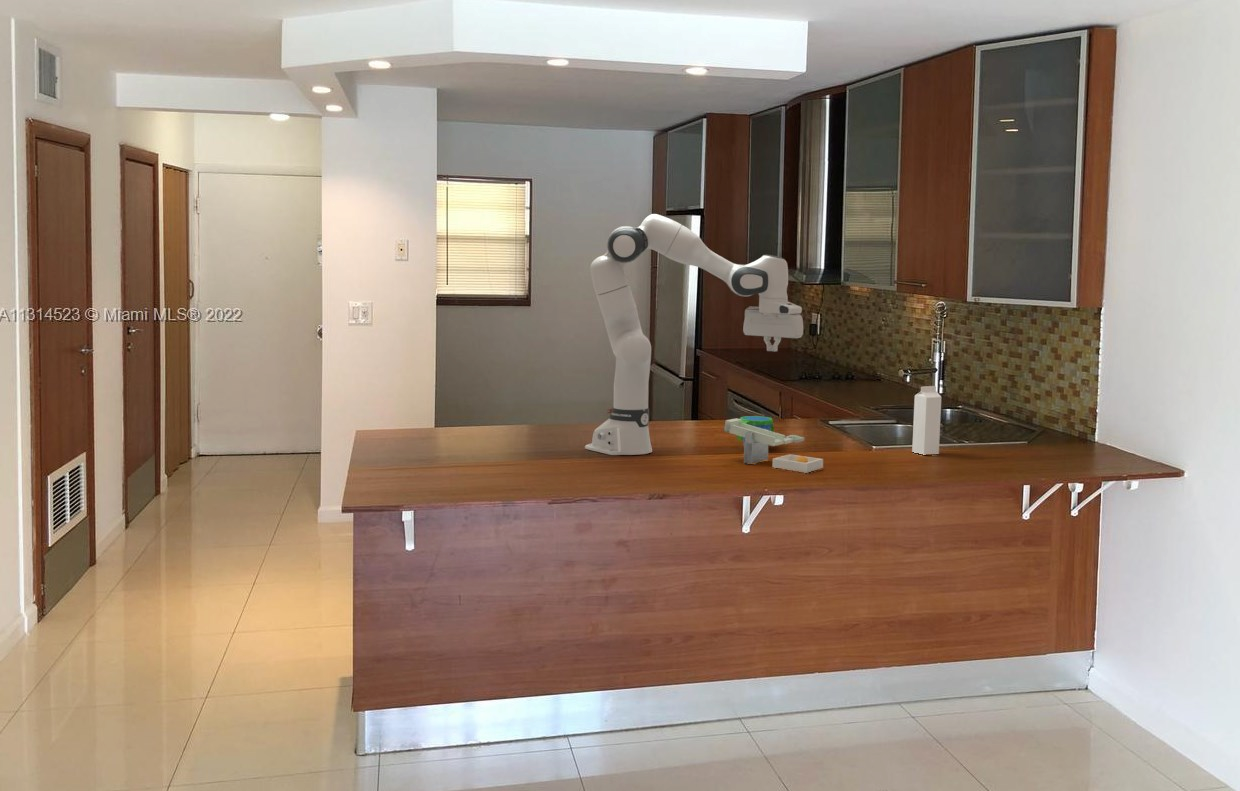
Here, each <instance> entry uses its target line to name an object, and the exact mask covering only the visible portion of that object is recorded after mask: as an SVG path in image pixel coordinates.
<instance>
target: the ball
mask: <svg viewBox="0 0 1240 791" xmlns="http://www.w3.org/2000/svg"><path fill="white" fill-rule="evenodd" d="M798 456H799V457H798V458H797V459H796V462H803V463H807V462H808V460H807V458H806V457H807V456H805V457H804V455H798Z"/></svg>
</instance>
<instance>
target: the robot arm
mask: <svg viewBox="0 0 1240 791" xmlns="http://www.w3.org/2000/svg"><path fill="white" fill-rule="evenodd" d="M606 245H607V247H606V248H607V251H606V252H605V253H604V254H603V255H600V256H597V257H596V258H594V259H593V261H592V262H591V264H590V266H589V268H590V269H589V270H590V276H591V282H592V287H593V289H594V294H595V296H596V299H597V302H598V306H599V309H600V313H601V314H602V317H603V321H604V325H605V330H606V332H607V337H608V340H609V344H610V347H611V350H612V353H613V355H614V357H615V370H614V378H613V380H614V381H613V407H612V408H609V409H606V411H607V412H606V414H609V416H608V419H607V420H604V422H603V423H601V424H600V425H599V426H598V427H597V428H595V429H594V431H593V434H592V439H591V440H592V441H591V443H588V444H586V445H585V446H584V449H585V450H589V451H593V452H598V453H601V454H605V455H609V456H621V455H622V456H623V455H624V456H625V455H626V456H628V455H629V456H632V455H633V456H634V455H646V454H649V453H650V454H651V453H652V452H653V449H652V444H651V439H650V429H649V422H650V408H649V380H650V372H651V360H652V345H651V341H650V340H649V338H648V337H647V336H646V335H645V334H644V333H643V332H644V331H643V330H642V329H643V328H642V325H641V321H640V318H639V313H638V307H637V304H636V301H635V298H634V295H633V293H632V289H631V285H630V283H629V280H628V277H627V273H626V266H627V264H628V263H632V262H633V261H635V260H636V259H638V258H639V257H640V256H641V254H642V253H643V252H645V251H646V250H653V251H655V252H656V253H659V254H661V255H662V256H664V257H666V258H667V259H669V260H672V261H674V262H677V263H679V264H682V265H685V266H692V267H698V268H699V269H702V270H703V271H706V272H708V273H709V274H711V275H712V276H714V277H717V278H718V279H720V280H722V281H723V282H724V283H725V284H726V286H727V287H728V288H729V290H730V291H731V292H732V293H733V294H735V295H736V296H739V297H751V296H753V295H758V296H759V297H758V301H759V302H758V306H752V305H750V306H748V307H747V308H746V309H745V310H744V321H743V328H742V329H743V330H742V332H743V334H744V335H745V336H753V337H763V342H764V343H765V344H766V351H767V352H778V350H779V349H778V348H779V344H780V343H781V341H782V338H786V339H799V338H802V337H803V335H804V320H803V316H802V315H801V313H802V311H803V308H802V306H800V305H797V304H795V303H792V302H790V301H789V300H788V298H789V297H788V293H787V292H788V285H789V267H788V262H787V261H786V259H785V258H783V257H781V256H778V255H774V254H773V255H772V254H763V255H762V256H761V257H760V258H759V257H758V259H756V260H754V261H752V262H750V263H747V264H742V263H734V262H733V261H730V260H728V259H726V258H724V257H723V256H721V255H719V254H717V253H715V252H714V251H713V250H711V249H710V248H708V246H707V245H706V244H705V243H704V242H703V240H702V238H701V237H699V235H697V234H696V233H695V232H693V230H692V229H689V228H688V227H687V226H685V225H683V224H681V223H680V222H677V221H676V220H673V219H672V218H669V217H667V216H663V215H661V214H657V213H651V214H649V215H648V216H646V217H645V218H644V219H643V221H642V222H641V224H640V225H639V226H637V227H633V226H630V225H622V226H619V227H616V228H614V229H613V230H612V231H611V233H610V234H609V235H608V239H607V244H606ZM772 338H773V341H774V342H773V344H772V343H771V340H772Z"/></svg>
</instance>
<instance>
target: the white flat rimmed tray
mask: <svg viewBox="0 0 1240 791" xmlns="http://www.w3.org/2000/svg"><path fill="white" fill-rule="evenodd" d="M799 456H800V455H796V454H792V453H791V454H790V453H789V454H785V455H781V456H778V457H777V456H776V457H775V458H774V457H773V458H772V468H773V467H774V468H782V469H787V470H793V471H799V472H804V473H803V474H805V473H807V474H809V473H808V472H811V471H814V470H817V469H820V468H823V469H824V458H820V457H819V458H818V457H813V456H804V455H803V456H804V457H806V458H807V460H808V462H807V463H803V462H796V459H797V458H798V457H799ZM814 472H815V471H814ZM811 473H812V472H811Z"/></svg>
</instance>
